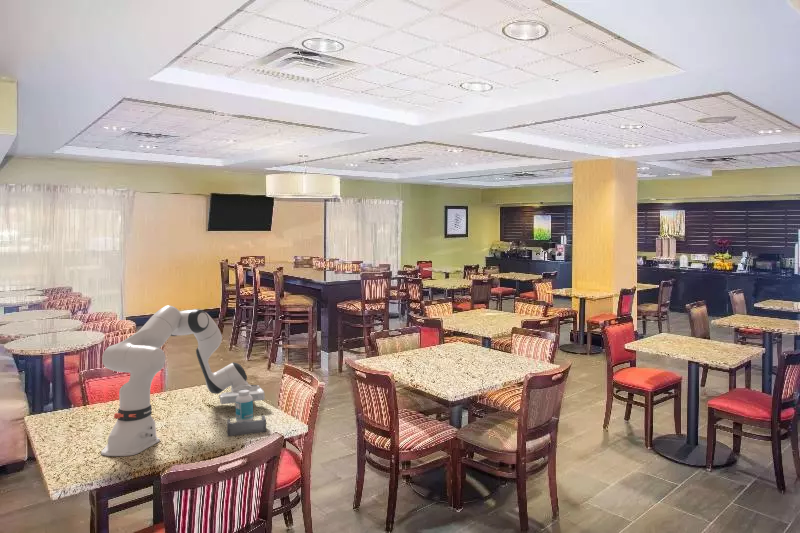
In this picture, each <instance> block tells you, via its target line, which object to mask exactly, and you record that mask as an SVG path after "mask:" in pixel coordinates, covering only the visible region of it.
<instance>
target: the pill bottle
mask: <svg viewBox="0 0 800 533" xmlns="http://www.w3.org/2000/svg"><path fill="white" fill-rule="evenodd" d="M238 393H239V396H237V397H236V399H235V403H234V404H235V421H236V422H246V421H254V404H253V403H254V401H253V398H252V396H251V395H249V390H240V391H239V392H238Z"/></svg>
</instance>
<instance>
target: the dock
mask: <svg viewBox="0 0 800 533" xmlns="http://www.w3.org/2000/svg"><path fill="white" fill-rule="evenodd" d="M226 430H227V431H226V432H227V437H233V436H241V435H242V436H243V434H244V435H250V433H253V434H261V433H260V432H262V433H267V419H266V415H261V419H259V420H258V419H256V420H252V421H246V422H237V421H236V422H231V418H227V419H226Z"/></svg>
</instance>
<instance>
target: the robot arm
mask: <svg viewBox="0 0 800 533" xmlns="http://www.w3.org/2000/svg"><path fill="white" fill-rule="evenodd" d="M189 335H193V336H194V337H195V339H196V341H197V348H196V349H195V354H196V357H197V360H198V363H199V365H200V369H201V372H202V374H203V376H204V379H205V385H206V387H207V388H206V389H207V390H208V392H210V393H212V394H215V395H218V398H219V402H220V404H221V405H228V404H236V403H235V399H236V397H237V396H239V393H238V392H239V391H240V390H249V395H251V396H252V398H253V402H255V401H256V402H257V401H265V391H264V389H263V388H261V387H260V385H258V384H249V382H248V380H247V379H248V376H247V373H246V371H245V369H244V368H243V366H242V365H241V364H240V363H238V362H231V363H229V364H228V365H225V366H224V367H221V369H218V370H217V371H214V372H212V369H211V366H210V363H209V359H210V357H212V355H213V354H214V352H216V351H217V350H218V349H219V347H220V346H221V343H222V341H223V335H222V332H221V330H220V328H219V327H218V325H217V323H216V322H215V321H214V319H213V318H212V317H211V316H210V315H209V313H208V312H206V311H204V310H202V309H199V308H197V309H196V308H195V309H185V310H179V309H178V308H177V307H175V306H173V305H164V306H163V307H161V308H159V310H157V311H156V312H155V313H154V314H152V315H151V317H150V318H148V320H147V321H146V322H145V323H144V325H143V326H142V327H141V328H139V329H138V331H136V332H135V333H134V334H132V335H130V336H129V337H127V338H125V339H124V340H122V341H120V342H118V343H115V344H112V345H109V346H108V347H106V348H105V350H103V353H102V359H101V361H102V364H103V366H104V367H105V369H108V370H110V371H114V372H116V373H117V372H119V373H129V374H130V375H129V376H130V377H129V380H128V381H127V382H125V383H124V384H123V385H121V387H120V388H119V391H118V392H119V394H118V396H119V401H118V402H119V407H118V409H117V410H118V411H117V412H115V413H114V415H113V418H114V419H116V422H115V424H114V425H113V427H112V429H111V431H110V433H109V435H108V438H107V444H106V446H105V447H104V448H103V449H102V450H100V455H102V456H106V457H107V456H108V457H126V456H127V457H128V456H133V455H138V454H139V453H141V452H143V451H145V450H146V449H149V448H150V447H152V446H153V445H155V444H157V443H160V441H161V440H160V438H159V437H158V436H157V427H156V421H155V419H154V418H153V416H152V411H153V409H152V403H151V387H152V382H153V380H154V377H155V376H156V374H157V373H159V372H160V371H161V370H163V368H164V366H165V364H166V355H165V352H164V350H163V349H162V347H163V346H164V344H165V343H166V342H167V341H168V339H169V338H170V337H177V336H189ZM228 388H230V389H231V390H230V391H228V392H227V391H225V390H226V389H228ZM223 391H225V392H223ZM219 394H220V395H219Z"/></svg>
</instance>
